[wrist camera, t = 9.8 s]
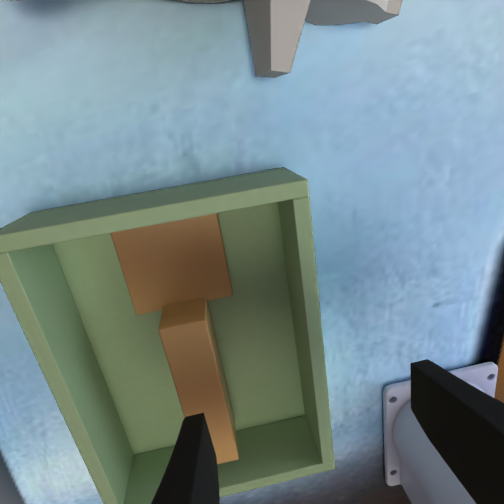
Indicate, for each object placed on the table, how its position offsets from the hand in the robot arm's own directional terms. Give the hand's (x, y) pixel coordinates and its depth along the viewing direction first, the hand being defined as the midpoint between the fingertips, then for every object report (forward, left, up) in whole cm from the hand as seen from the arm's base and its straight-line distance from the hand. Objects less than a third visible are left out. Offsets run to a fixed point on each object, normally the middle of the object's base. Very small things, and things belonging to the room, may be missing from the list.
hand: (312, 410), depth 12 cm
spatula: (-1, +4, -8) cm, 9 cm away
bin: (-1, +4, -9) cm, 10 cm away
